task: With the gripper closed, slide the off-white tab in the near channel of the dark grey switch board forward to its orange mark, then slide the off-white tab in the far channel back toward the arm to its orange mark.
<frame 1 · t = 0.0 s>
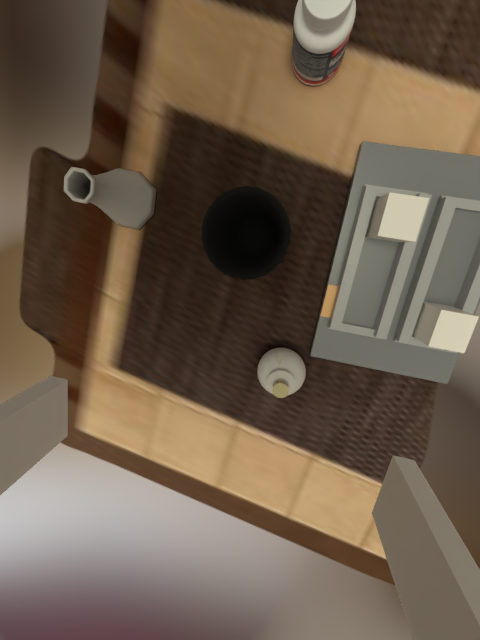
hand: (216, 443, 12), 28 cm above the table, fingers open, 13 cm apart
flask: (131, 200, 38), on the table
switch board: (404, 270, 35), on the table
pill bottle: (316, 59, 31), on the table
cup: (257, 237, 37), on the table
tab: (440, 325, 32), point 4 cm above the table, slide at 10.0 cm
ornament: (281, 356, 40), on the table
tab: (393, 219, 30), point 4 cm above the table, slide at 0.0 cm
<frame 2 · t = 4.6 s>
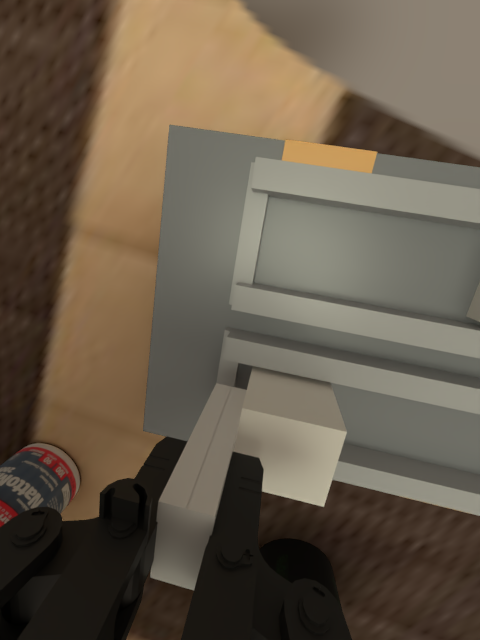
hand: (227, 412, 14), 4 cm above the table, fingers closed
switch board: (380, 338, 16), on the table
pill bottle: (52, 468, 22), on the table
cup: (292, 566, 21), on the table
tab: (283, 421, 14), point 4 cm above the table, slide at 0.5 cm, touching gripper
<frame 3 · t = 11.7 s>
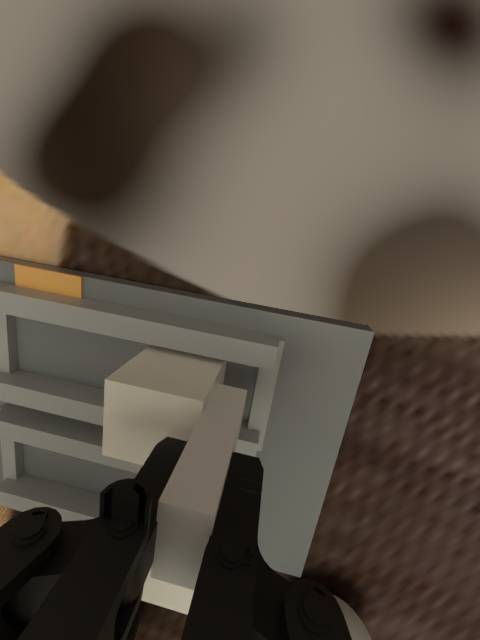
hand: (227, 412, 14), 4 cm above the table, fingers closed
switch board: (136, 411, 19), on the table
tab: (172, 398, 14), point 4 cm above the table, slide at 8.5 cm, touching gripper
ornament: (309, 595, 21), on the table
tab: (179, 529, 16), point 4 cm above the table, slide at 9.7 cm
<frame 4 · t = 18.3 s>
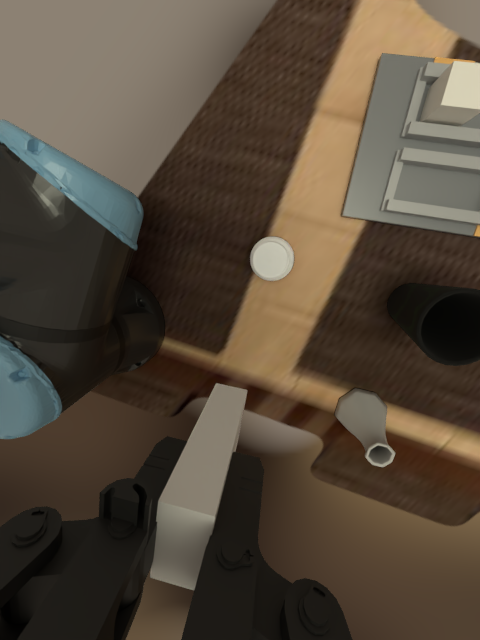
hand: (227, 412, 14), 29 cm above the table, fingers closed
flask: (359, 409, 44), on the table
switch board: (467, 157, 34), on the table
pill bottle: (273, 256, 41), on the table
cup: (408, 303, 40), on the table
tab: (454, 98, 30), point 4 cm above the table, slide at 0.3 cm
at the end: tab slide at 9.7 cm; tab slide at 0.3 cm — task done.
